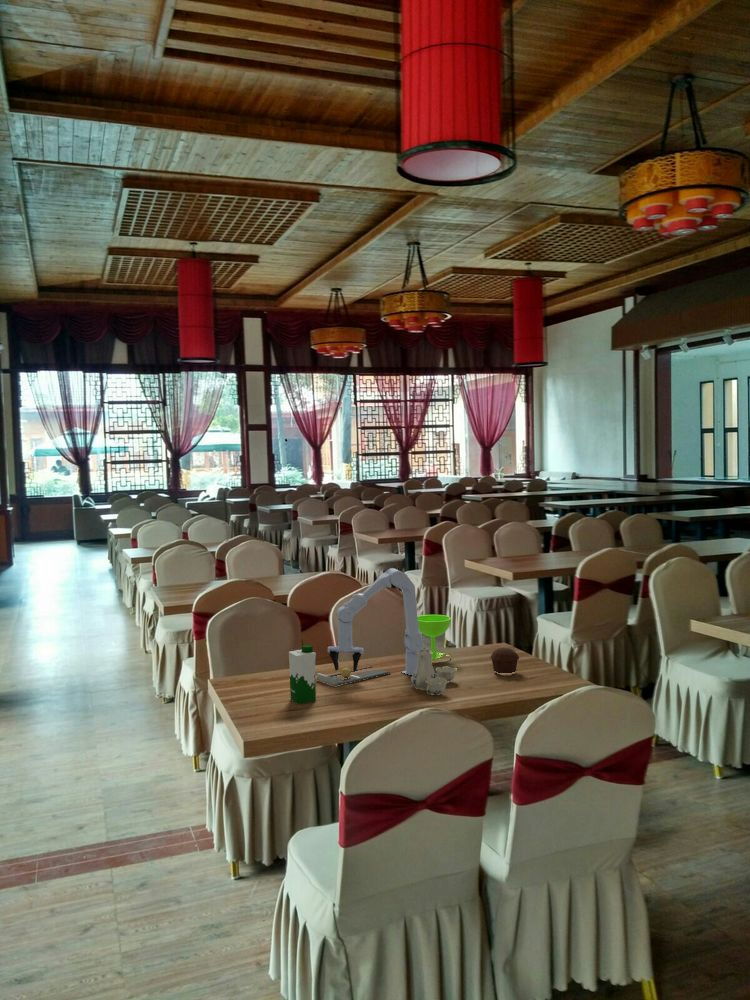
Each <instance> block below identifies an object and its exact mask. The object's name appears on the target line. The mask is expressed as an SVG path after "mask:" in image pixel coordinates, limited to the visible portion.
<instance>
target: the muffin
mask: <svg viewBox="0 0 750 1000" xmlns="http://www.w3.org/2000/svg"><path fill="white" fill-rule="evenodd" d="M490 659H491V662H492V669H493V672H494V671H496V672H498V673H512V672H515V671H516V672H517V665H518V660H519V659H520V656H519V655H518V653H517V652H516V651H515V650H514V649H512V648H510V647H500V648H497V649H496V650H494V651H493V652H492V653H491V655H490Z"/></svg>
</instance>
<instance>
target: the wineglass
mask: <svg viewBox="0 0 750 1000" xmlns="http://www.w3.org/2000/svg"><path fill="white" fill-rule="evenodd" d="M451 623H452V619H451V617H450V616H448V615H445V614H444V615H443V614H423V615H418V626H419V630H420V632H421V634H423V635H424V636H427V637H430V651H431V652H433V654H432V659H435V660H433V661H436V659H437V658H440V657H442V656H441V655H443V654H445V653H443V652H437V650H436V637H439V636H442V635H443V634H445V633H446V632H447V630H448V629H449V628H450V625H451ZM438 653H439V654H438ZM446 656H450V655H449V654H447V655H446ZM439 660H441V659H439Z"/></svg>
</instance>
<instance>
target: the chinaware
mask: <svg viewBox="0 0 750 1000" xmlns="http://www.w3.org/2000/svg"><path fill="white" fill-rule="evenodd" d="M422 648H423V649H421V650H420V651H419V652H416V654H417V667H416V670H415V672H414V674H413V675H412V676H411V677H410V682H411V684H413V686H414V687H415V688H417V689H416V690H418V689H420V690H419V691H426V693H427V694H428V695H431V696H433V694H434V695H438V694H442V693H443V692H445V690H446V686H447V684H449V683H448V681H449V682H452V680H454V678H455V677H456V674H457V673H456V672H457V671H458V668H457V667H450V665H449V666H447V665H446V666H443V667H436V668H435V669H434V667H433V664H432V654H433V652H431V650H429V649H428V648H427V647H426V645H425V646H423V647H422ZM414 687H413V688H414ZM415 688H414V689H415Z"/></svg>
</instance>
